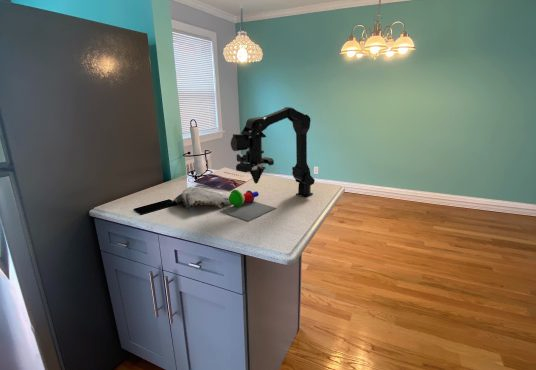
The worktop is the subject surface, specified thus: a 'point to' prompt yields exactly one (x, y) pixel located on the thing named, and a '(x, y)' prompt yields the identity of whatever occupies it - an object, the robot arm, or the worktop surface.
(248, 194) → the toy
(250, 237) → the worktop surface
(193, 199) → the stone fragment
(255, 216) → the mat
